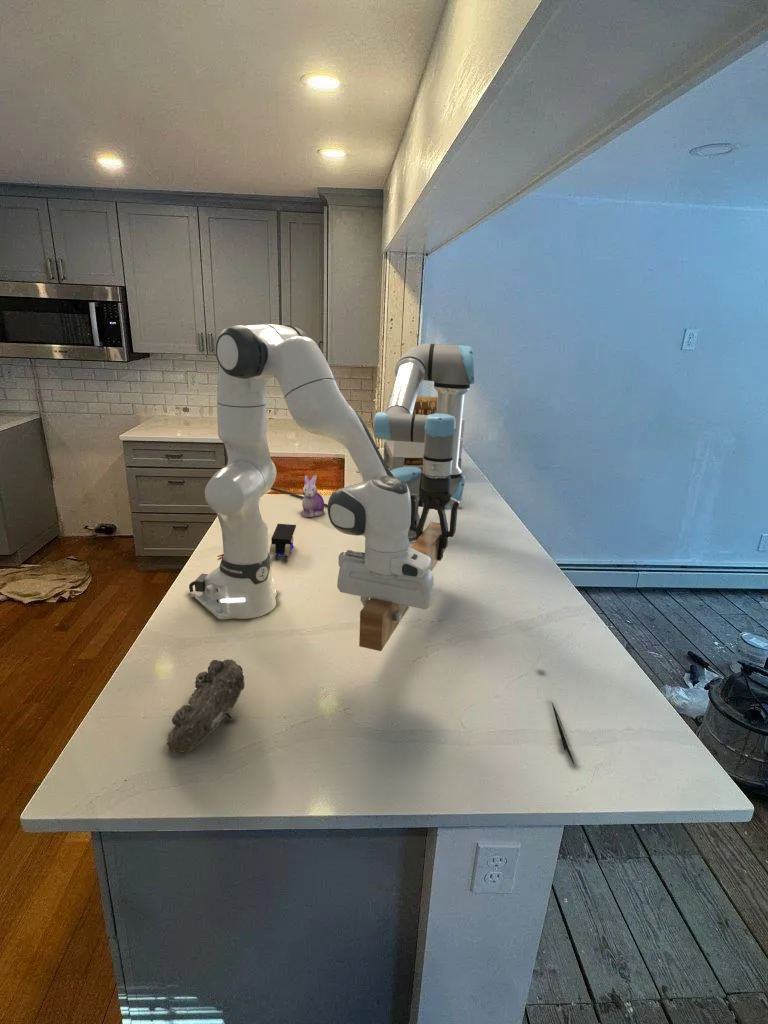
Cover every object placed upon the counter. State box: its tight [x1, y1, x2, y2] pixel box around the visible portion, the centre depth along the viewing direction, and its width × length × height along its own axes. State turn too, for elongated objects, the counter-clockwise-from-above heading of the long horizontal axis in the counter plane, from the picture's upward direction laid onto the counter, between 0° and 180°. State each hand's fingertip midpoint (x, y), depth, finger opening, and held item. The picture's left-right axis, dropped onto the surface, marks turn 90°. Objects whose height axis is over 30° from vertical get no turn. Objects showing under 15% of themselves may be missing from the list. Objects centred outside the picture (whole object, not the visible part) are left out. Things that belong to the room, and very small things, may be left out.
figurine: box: [301, 474, 325, 518], centre depth 213 cm, size 9×10×15 cm
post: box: [358, 521, 446, 652], centre depth 136 cm, size 55×5×8 cm, turn 161°
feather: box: [540, 670, 575, 765], centre depth 113 cm, size 2×28×2 cm
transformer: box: [383, 395, 465, 471], centre depth 268 cm, size 34×33×41 cm
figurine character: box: [269, 523, 297, 560], centre depth 179 cm, size 7×8×15 cm
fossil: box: [166, 658, 245, 754], centre depth 106 cm, size 22×10×15 cm
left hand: (383, 617), depth 119 cm, fingers closed on post, 5 cm apart
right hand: (430, 556), depth 155 cm, fingers closed on post, 5 cm apart
